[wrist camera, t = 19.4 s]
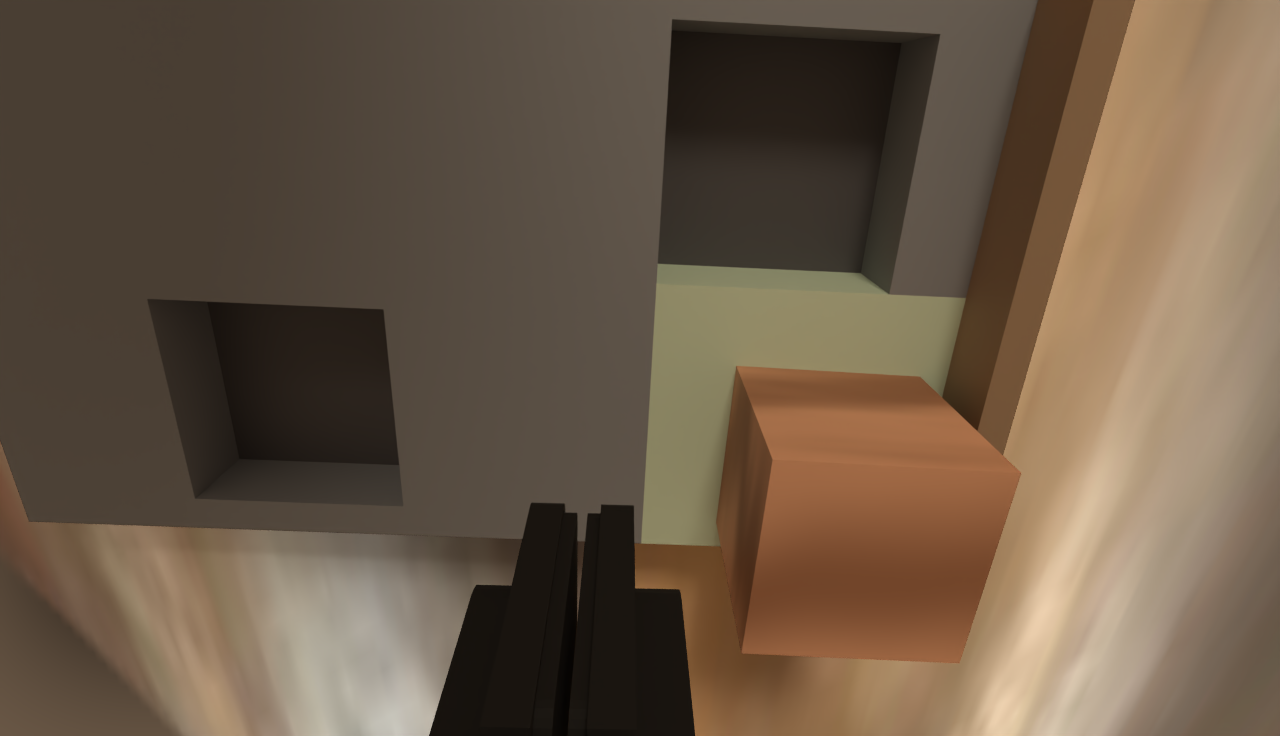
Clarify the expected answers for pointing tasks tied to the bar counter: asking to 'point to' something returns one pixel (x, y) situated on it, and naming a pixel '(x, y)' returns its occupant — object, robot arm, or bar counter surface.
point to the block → (856, 516)
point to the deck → (507, 242)
